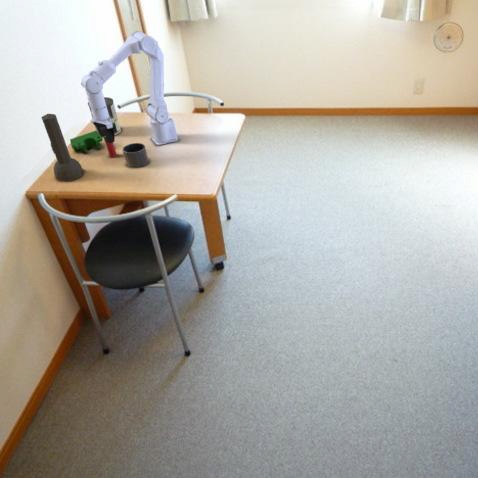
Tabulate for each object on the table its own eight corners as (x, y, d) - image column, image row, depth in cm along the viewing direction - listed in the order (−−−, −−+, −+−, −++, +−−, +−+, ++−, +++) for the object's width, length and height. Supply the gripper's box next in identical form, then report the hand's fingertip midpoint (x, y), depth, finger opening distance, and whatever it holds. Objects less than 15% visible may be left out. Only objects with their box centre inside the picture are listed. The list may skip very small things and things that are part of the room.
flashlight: (83, 166, 193) (56, 171, 191) (63, 106, 178) (33, 110, 175) (83, 178, 186) (55, 183, 183) (62, 116, 171) (31, 121, 168)
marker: (116, 153, 202) (110, 134, 197) (117, 156, 200) (112, 137, 195) (108, 155, 201) (102, 136, 196) (110, 158, 199) (104, 139, 194)
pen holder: (145, 155, 201) (141, 141, 197) (151, 164, 195) (147, 149, 191) (124, 160, 197) (120, 146, 193) (129, 169, 191) (125, 154, 187)
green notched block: (86, 162, 205) (74, 149, 197) (78, 155, 207) (66, 142, 199) (108, 144, 208) (98, 131, 200) (101, 137, 210) (90, 123, 202)
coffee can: (110, 138, 213) (101, 107, 204) (91, 134, 216) (82, 104, 207) (126, 129, 220) (118, 99, 212) (108, 125, 224) (99, 95, 215)
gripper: (80, 103, 190) (90, 136, 198) (95, 115, 181) (105, 148, 189) (98, 99, 193) (107, 131, 202) (114, 110, 185) (122, 142, 193)
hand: (107, 139), depth 196 cm, fingers open, 7 cm apart
